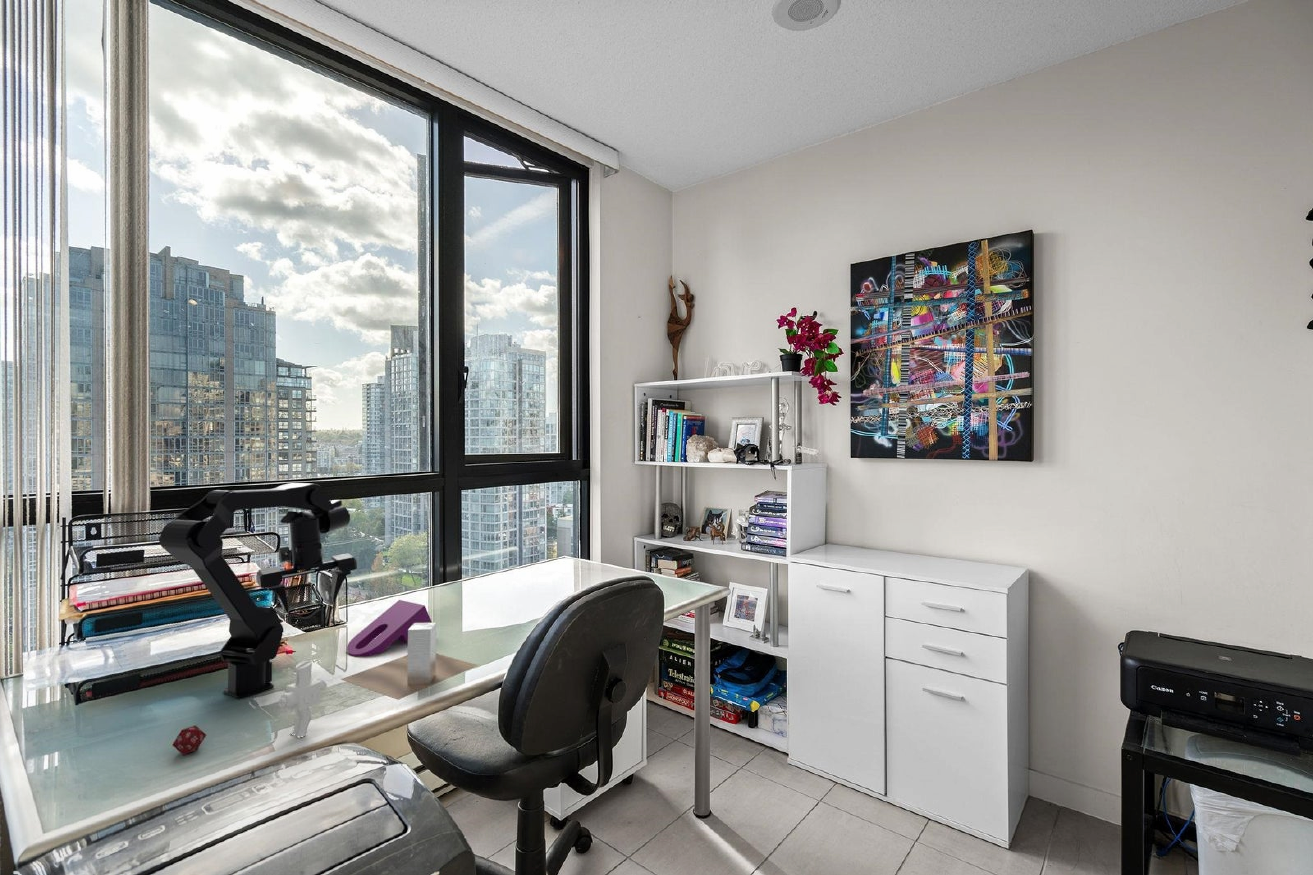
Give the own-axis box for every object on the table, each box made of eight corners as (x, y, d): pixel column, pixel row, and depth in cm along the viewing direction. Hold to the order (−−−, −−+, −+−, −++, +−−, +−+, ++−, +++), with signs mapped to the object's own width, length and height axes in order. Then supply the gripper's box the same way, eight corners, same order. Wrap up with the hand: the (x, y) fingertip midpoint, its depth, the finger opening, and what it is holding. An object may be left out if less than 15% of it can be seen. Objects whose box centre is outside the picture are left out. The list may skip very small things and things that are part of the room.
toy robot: (331, 725, 105) (332, 657, 105) (288, 745, 98) (289, 672, 98) (316, 720, 107) (317, 653, 107) (273, 740, 100) (274, 668, 100)
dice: (209, 751, 96) (209, 726, 96) (174, 762, 93) (174, 736, 93) (203, 743, 99) (203, 718, 99) (169, 753, 95) (169, 728, 95)
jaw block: (407, 684, 120) (408, 629, 120) (413, 675, 124) (414, 623, 124) (429, 683, 120) (430, 629, 120) (435, 674, 125) (436, 622, 125)
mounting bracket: (378, 686, 136) (436, 631, 150) (364, 657, 133) (424, 605, 147) (352, 677, 140) (411, 625, 155) (338, 649, 137) (399, 599, 151)
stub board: (397, 705, 113) (398, 682, 113) (340, 684, 122) (341, 663, 122) (477, 670, 130) (477, 650, 130) (422, 654, 139) (422, 635, 139)
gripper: (342, 525, 144) (346, 587, 146) (250, 539, 132) (255, 607, 133) (355, 534, 136) (359, 600, 137) (258, 550, 123) (264, 622, 125)
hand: (310, 607), depth 133 cm, fingers open, 9 cm apart
